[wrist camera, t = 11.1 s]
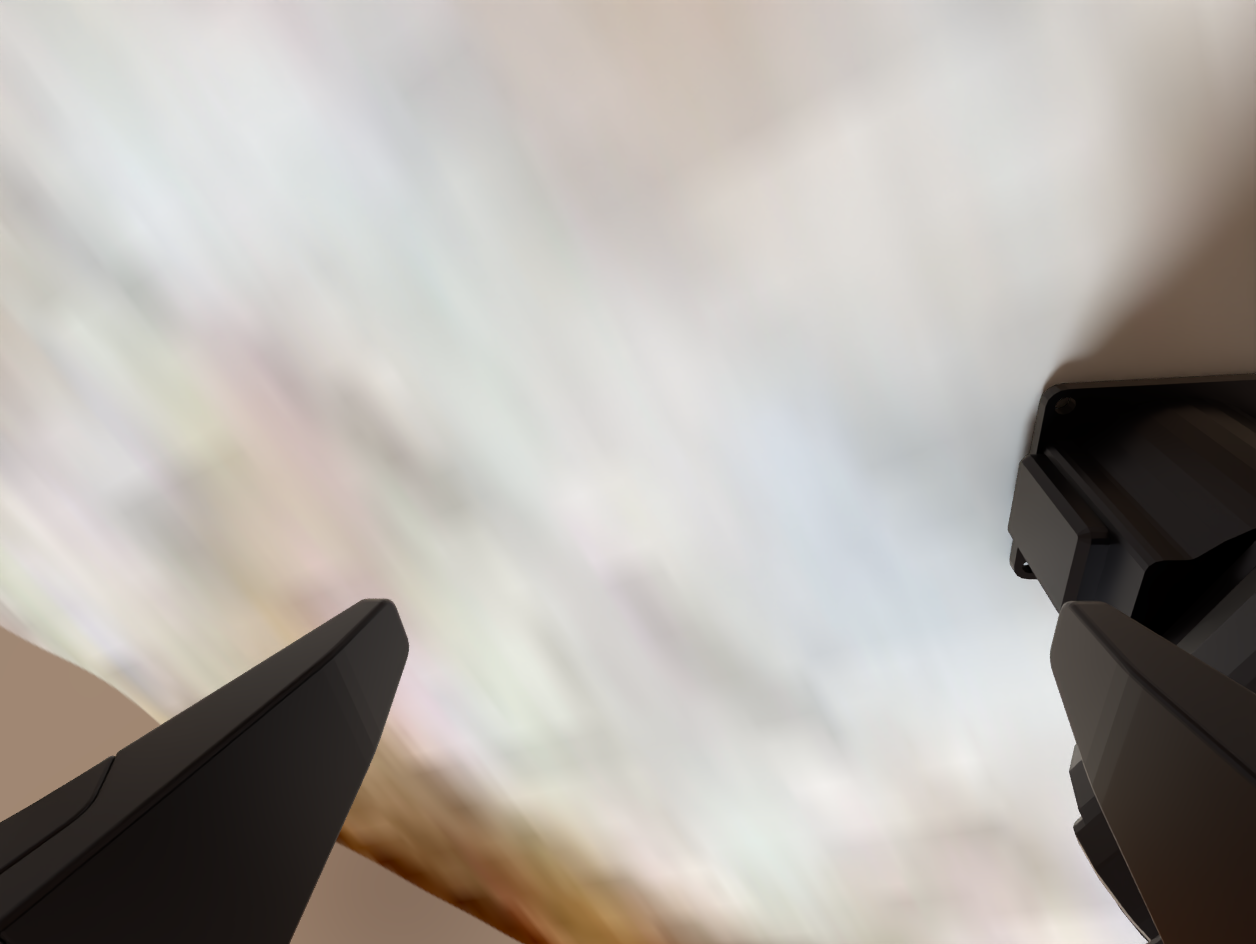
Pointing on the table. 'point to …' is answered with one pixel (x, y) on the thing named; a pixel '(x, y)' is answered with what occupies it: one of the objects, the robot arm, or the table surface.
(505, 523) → the table surface
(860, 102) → the table surface
